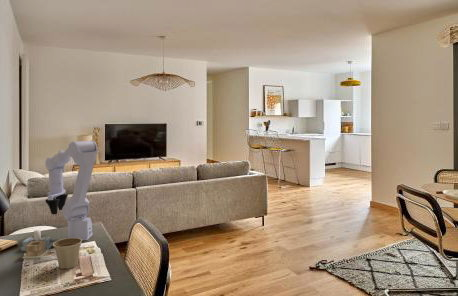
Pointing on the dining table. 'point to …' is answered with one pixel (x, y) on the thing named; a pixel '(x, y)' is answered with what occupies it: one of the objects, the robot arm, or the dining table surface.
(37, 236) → the vise
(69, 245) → the flower pot
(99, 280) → the dining table surface
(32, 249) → the collar
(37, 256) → the mat
